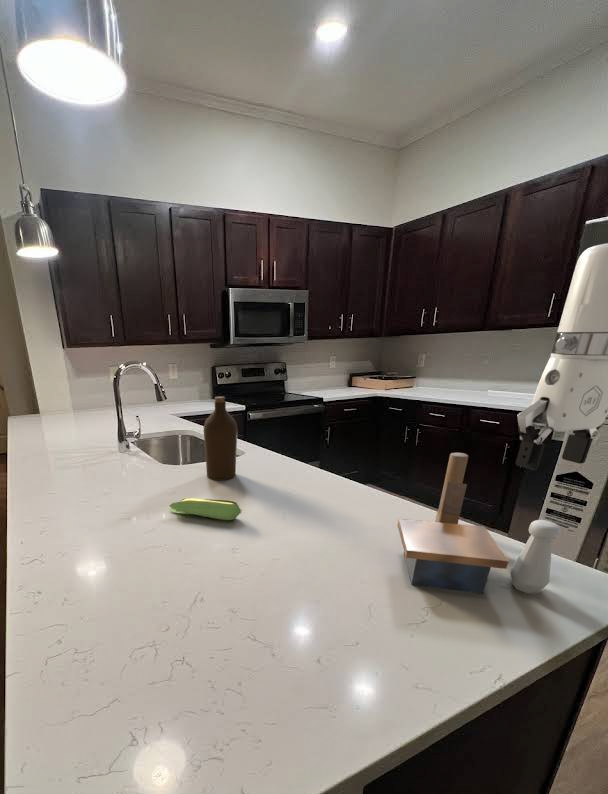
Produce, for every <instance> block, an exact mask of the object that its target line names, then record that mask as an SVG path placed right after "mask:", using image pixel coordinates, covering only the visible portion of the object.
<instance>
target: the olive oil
mask: <svg viewBox="0 0 608 794" xmlns="http://www.w3.org/2000/svg"><path fill="white" fill-rule="evenodd" d="M214 400H215V401H214V410H213V411H212V413H211V414H210V415H209V416H208V417H207V418H206V420H205V421H204V425H203V439H204V452H205V465H206V466H205V467H206V476H207V478H209V479H211V480H215V481H227V480H232V479H234V478H235V477H236V473H237V471H236V470H237V450H238V449H237V447H238V433H239V432H238V431H239V430H238V424H237V422H236V419H234V417H233V416H232V415H231V414H230V413H229V412H228V410H227V407H226V406H227V403H226V397H225V396H215V397H214Z"/></svg>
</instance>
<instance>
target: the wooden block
mask: <svg viewBox="0 0 608 794" xmlns="http://www.w3.org/2000/svg"><path fill="white" fill-rule="evenodd" d="M468 460H469V455H468V454H466V453H465V452H451V453H450V454H449V458H448V463H447V467H446V473H445V478H444V483H443V487H442V492H441V495H440V501H439V505H438V509H437V511H436V516H435V521H434V522H440V523H451V524H459V521H460V515H461V512H462V507H463V503H464V499H465V494H466V490H467V487H468V484H467V483H463V482H464V478H465V473H466V469H467V465H468Z"/></svg>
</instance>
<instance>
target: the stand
mask: <svg viewBox="0 0 608 794" xmlns="http://www.w3.org/2000/svg"><path fill="white" fill-rule="evenodd" d="M397 529H398V533H399V536H400V541H401V544H402V548H403V557H404V561H405V564H406V569H407V571H408V577H409V580H410V584H411V585H413V586H420V587H429V588H436V589H444V590H452V591H453V590H454V591H460V592H468V593H476V594H484V593H485V590H486V586H487V582H488V579H489V575H490V571H491V568H494V569H495V568H496V569H504V570H507V568H508V565H509V560H508V558H507V556H506V555H505V554H504V552H503V551H502V549H501V548H500V546H499V545H498V544H497V542H496V541H495V540H494V538H493V537H492V535H491V533H490V532H489V531H488V530H487V528H486V527H485V526H483V525H471V524H461V523H458V524H451V523H440V522H435V521H430V520H429V521H427V520H417V519H405V518H398V519H397Z"/></svg>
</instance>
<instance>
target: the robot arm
mask: <svg viewBox="0 0 608 794" xmlns="http://www.w3.org/2000/svg"><path fill="white" fill-rule="evenodd" d="M556 331H557V333H556V335H555V340H554V342H553V346H552V350H551V353H550V356H549V359H548V361H547V362H546V365H545V367H544V370H543V372H542V374H541V377H540V379H539V381H538V384H537V387H536V390H535V393H534V396H533V399H532V401H531V405H529V406H528V407H527V408H524V410H522V411H521V412H519V413H518V414H517V423H518V424H517V425H518V428H517V432H518V434H519V440H520V441H521V442H520V446H519V450H518V453H517V457H516V459H515V465H516V466H518V467H521V468H524V469H527V470H531V471H536V470H538V468H539V466H540V462H541V459H542V457H543V452H544V450H545V446H546V444H545V443H543V442H544V441H545V439H547V437H548V436H549V435H550V434H551V433H552V432H553V430H554V431H555V432H560V433H562V432H572V433H570V434H568V437H567V440H566V443H565V446H564V449H563V453H562V454H561V459H562V460H564V461H569V462H571V463H576V464H581V465H582V464H585V462H586V460H587V458H588V454H589V451H590V449H591V446H592V443H593V440H594V438H596V437H597V435H598V430H599V429H600V428H601V427H602V426H603V425H604V424H605V421H606V418H607V417H608V242H607V243H602V244H601V243H600V244H597V245H593V246H591V247H588V248H586V249H585V250H584V251H583V252H582V253H581V254H580V256H579V257H578V259H577V261H576V264H575V267H574V271H573V275H572V278H571V281H570V286H569V289H568V293H567V296H566V299H565V303H564V306H563V310H562V314H561V318H560V321H559V325H558V328H557V330H556ZM537 430H540V431H539V432H538V431H537Z"/></svg>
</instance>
